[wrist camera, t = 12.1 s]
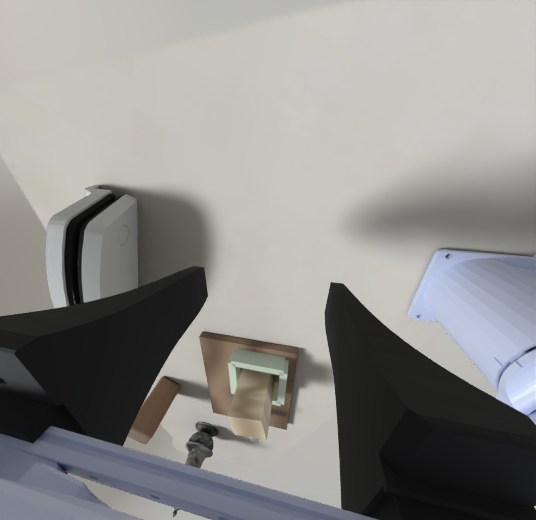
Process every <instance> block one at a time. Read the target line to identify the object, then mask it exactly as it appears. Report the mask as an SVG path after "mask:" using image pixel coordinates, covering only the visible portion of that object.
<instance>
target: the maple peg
mask: <svg viewBox="0 0 536 520" xmlns="http://www.w3.org/2000/svg"><path fill="white" fill-rule="evenodd" d="M274 386H275V377H274V374H271V373H265V372H260V371H255V370H250V369H245V368H243V369H242V372H241V375H240V378H239V381H238V384H237V387H236V391H235V394H234V397H233V400H232V403H231V406H230V409H229V413H228V416H227V417H228V419H229V422H230V424H231V426H232V429H233V431H234V434H235V435H239V436H246V437H252V438H258V439H264V440H267V434H268V427H269V420H270V413H271V407H272V400H273V393H274Z"/></svg>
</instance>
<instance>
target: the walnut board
mask: <svg viewBox="0 0 536 520" xmlns="http://www.w3.org/2000/svg"><path fill="white" fill-rule="evenodd" d="M199 338H200V343H201V349H202V354H203V360H204V365H205V371H206V376H207V382H208V387H209V392H210V398H211V403H212V409H213V413H218V414H222V415H226V416H228V413H229V409H230V406H231V403H232V400H233V397H234V394H231V388H230V378H229V368H228V362H229V359H230V357H231V354H232V352H233V350H236V348H237V349H243V350H248V351H254V352H259V353H265V354H271V355H276V356H282V357H285V360H289V364H288V375H287V383H286V392H285V401H284V405H282V404H281V405H280V406H277V405H273V404H272V407H271V415H270V420H269V426H273V427H277V428H281V429H285V430H287V423H288V416H289V409H290V402H291V395H292V388H293V381H294V373H295V366H296V359H297V348H296V347H290V346H284V345H278V344H272V343H266V342H260V341H255V340H249V339H243V338H237V337H231V336H225V335H219V334H214V333H208V332H202V333H201V335H200V337H199ZM242 369H243V368H241V372H242ZM279 376H280V375H276V374H274V377H275V387H279Z"/></svg>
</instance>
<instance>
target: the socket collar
mask: <svg viewBox="0 0 536 520" xmlns="http://www.w3.org/2000/svg"><path fill="white" fill-rule="evenodd" d="M288 364H289V360H285V357H282V356H276V355H271V354H265V353H259V352H254V351H248V350H243V349H237V348H236V350H233V352H232V354H231V357H230V359H229V362H228V368H229V378H230V388H231V394H235V391H236V387H237V384H238V381H239V378H240V375H241V368H245V369H250V370H255V371H260V372H265V373H271V374H276V375H280V376H279V387H275V386H274V393H273V400H272V404H273V405H277V406H280V405H281V404H282V405H284V401H285V392H286V383H287V375H288Z"/></svg>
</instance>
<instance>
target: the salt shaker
mask: <svg viewBox="0 0 536 520" xmlns="http://www.w3.org/2000/svg"><path fill="white" fill-rule="evenodd" d="M196 429H197V431H198V432H196V433H195V434H193V435H192V437H191V438H190V439H189V442H187V443H186V448H187V449H188V451H189V454H188V458H187V461H186V465H189V466H193V467H196V468H200V467H201V465H202V463H203V461H204V459H205V458H206V457H211V456H212V454H213V452H212V449H213V440H212V437H213V436H216V435H217V434H218V430H217V428H216V427H214V426H213V425H211V424H209V423H205V422H198V423H196ZM174 509H175V510H174V512H173V517H174V516H175V515H176V514H177V510H179V509H177V508H174Z"/></svg>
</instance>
